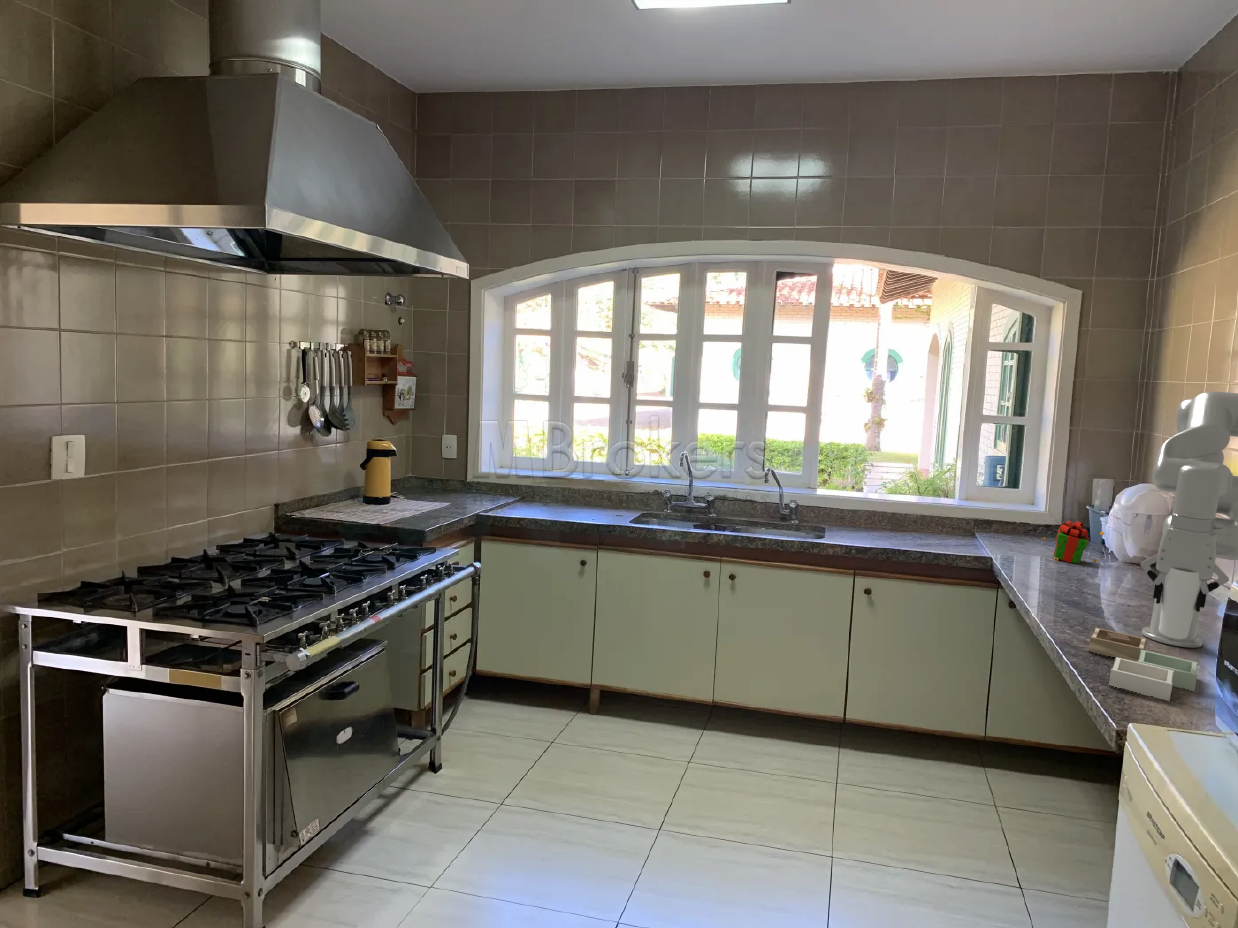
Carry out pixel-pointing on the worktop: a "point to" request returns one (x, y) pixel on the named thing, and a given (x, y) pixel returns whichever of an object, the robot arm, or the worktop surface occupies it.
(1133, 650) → the beech frame
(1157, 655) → the sage frame
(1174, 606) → the white cup
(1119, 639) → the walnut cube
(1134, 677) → the cream frame
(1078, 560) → the gift wrap
